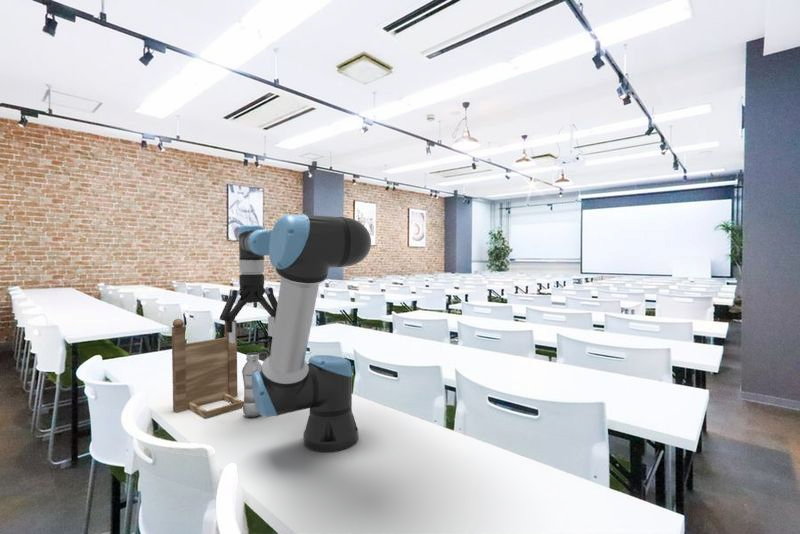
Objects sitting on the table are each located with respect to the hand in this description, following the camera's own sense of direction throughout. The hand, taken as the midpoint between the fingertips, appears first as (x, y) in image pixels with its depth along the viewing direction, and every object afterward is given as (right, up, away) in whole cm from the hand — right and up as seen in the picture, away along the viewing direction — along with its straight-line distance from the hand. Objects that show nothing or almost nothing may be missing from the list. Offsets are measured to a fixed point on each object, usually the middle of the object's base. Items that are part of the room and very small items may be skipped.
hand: (252, 339), depth 133 cm
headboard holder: (-15, -25, +7) cm, 30 cm away
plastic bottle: (0, -25, 0) cm, 25 cm away
